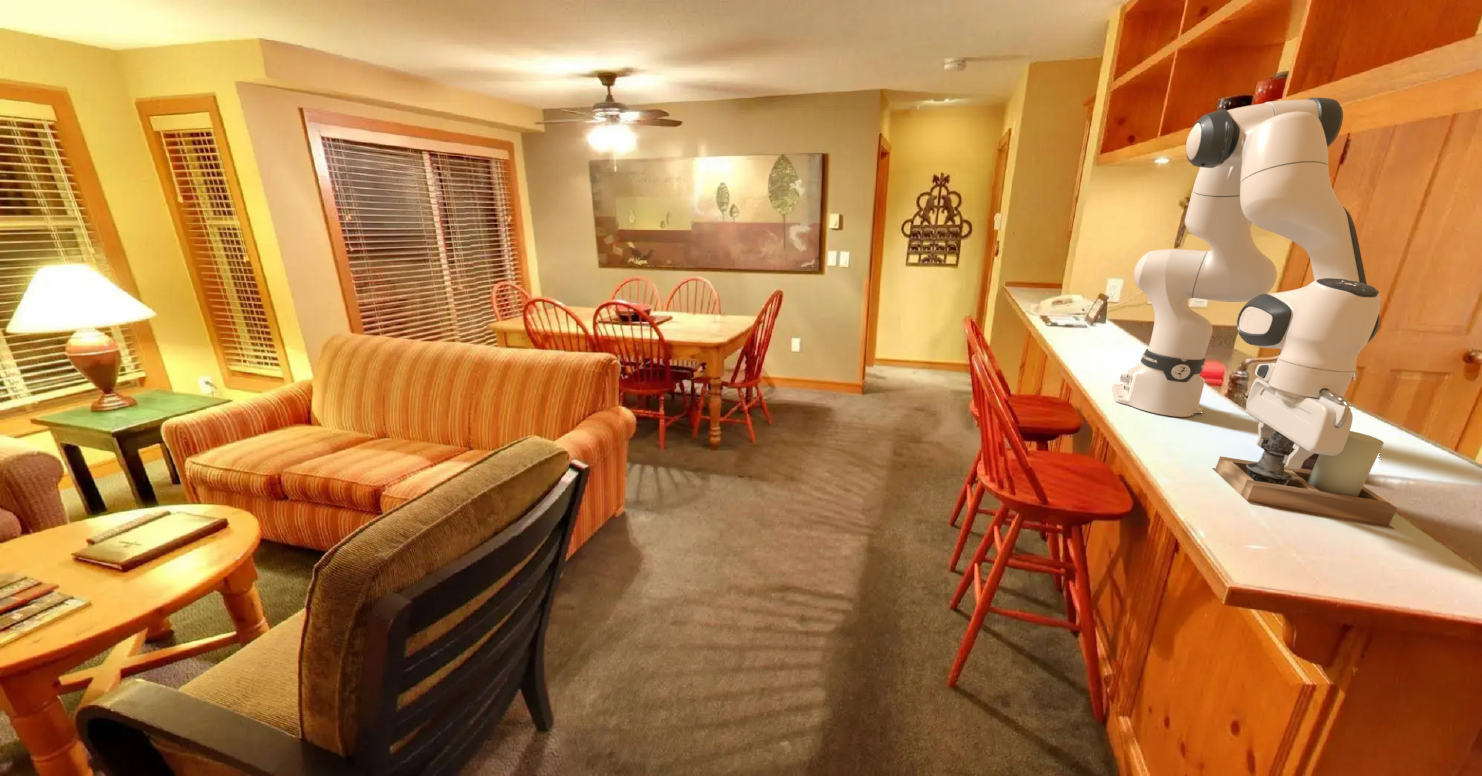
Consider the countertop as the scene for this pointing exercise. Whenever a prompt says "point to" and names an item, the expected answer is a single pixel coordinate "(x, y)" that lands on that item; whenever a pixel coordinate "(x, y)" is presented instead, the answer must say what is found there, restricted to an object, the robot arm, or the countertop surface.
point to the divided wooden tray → (1305, 495)
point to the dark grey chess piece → (1272, 461)
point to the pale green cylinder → (1346, 466)
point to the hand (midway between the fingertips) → (1276, 457)
